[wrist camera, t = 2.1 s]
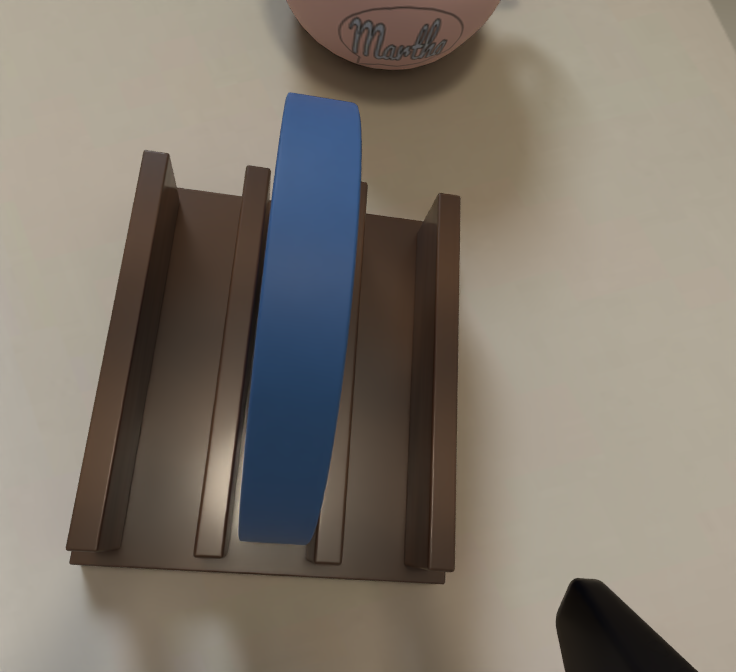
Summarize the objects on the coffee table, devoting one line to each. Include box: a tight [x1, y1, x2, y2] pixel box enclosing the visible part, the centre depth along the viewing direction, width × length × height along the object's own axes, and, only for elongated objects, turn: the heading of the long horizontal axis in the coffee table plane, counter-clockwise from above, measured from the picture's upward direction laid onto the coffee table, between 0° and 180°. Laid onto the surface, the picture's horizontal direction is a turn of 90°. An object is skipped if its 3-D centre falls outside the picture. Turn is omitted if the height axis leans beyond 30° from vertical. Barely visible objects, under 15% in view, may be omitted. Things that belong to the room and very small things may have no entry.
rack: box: [66, 150, 460, 584], centre depth 21 cm, size 13×12×4 cm
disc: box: [238, 92, 362, 545], centre depth 16 cm, size 11×2×11 cm, turn 177°
